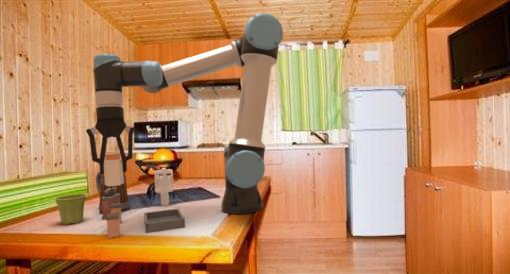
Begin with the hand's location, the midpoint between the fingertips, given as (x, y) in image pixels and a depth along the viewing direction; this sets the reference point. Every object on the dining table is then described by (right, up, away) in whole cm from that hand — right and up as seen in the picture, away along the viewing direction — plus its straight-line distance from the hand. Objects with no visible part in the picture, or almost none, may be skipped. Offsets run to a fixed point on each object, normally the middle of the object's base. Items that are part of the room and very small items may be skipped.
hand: (114, 183), depth 94 cm
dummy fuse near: (+3, -14, -7) cm, 16 cm away
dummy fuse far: (-3, -14, +7) cm, 16 cm away
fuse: (0, 0, 0) cm, 0 cm away
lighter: (-8, -14, +15) cm, 22 cm away
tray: (+14, -13, +3) cm, 19 cm away
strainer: (+6, -13, +31) cm, 34 cm away
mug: (-13, -14, +25) cm, 31 cm away
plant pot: (-19, -15, +10) cm, 26 cm away
